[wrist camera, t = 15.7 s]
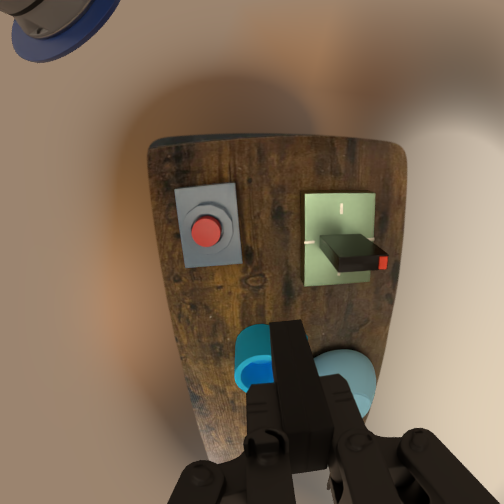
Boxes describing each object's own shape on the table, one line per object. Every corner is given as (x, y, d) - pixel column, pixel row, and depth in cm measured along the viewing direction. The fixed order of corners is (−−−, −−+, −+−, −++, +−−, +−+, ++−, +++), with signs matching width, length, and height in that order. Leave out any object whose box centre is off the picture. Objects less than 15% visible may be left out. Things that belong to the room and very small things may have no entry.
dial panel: (299, 190, 41) (304, 193, 38) (367, 190, 41) (376, 193, 38) (299, 278, 45) (303, 287, 42) (363, 273, 45) (370, 281, 42)
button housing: (177, 187, 40) (171, 191, 37) (235, 181, 40) (234, 184, 37) (188, 262, 44) (183, 272, 40) (242, 258, 44) (242, 268, 40)
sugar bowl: (319, 412, 55) (331, 455, 44) (275, 376, 51) (281, 423, 40) (381, 372, 52) (403, 413, 41) (345, 328, 48) (367, 371, 37)
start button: (191, 217, 38) (189, 220, 37) (219, 214, 38) (218, 217, 37) (195, 244, 39) (193, 248, 38) (222, 241, 39) (221, 245, 38)
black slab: (319, 248, 40) (338, 273, 32) (319, 235, 40) (339, 258, 31) (360, 245, 41) (388, 270, 32) (361, 233, 40) (389, 255, 31)
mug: (252, 370, 50) (253, 402, 43) (225, 338, 48) (223, 369, 40) (313, 339, 49) (324, 370, 41) (291, 303, 46) (299, 332, 39)
